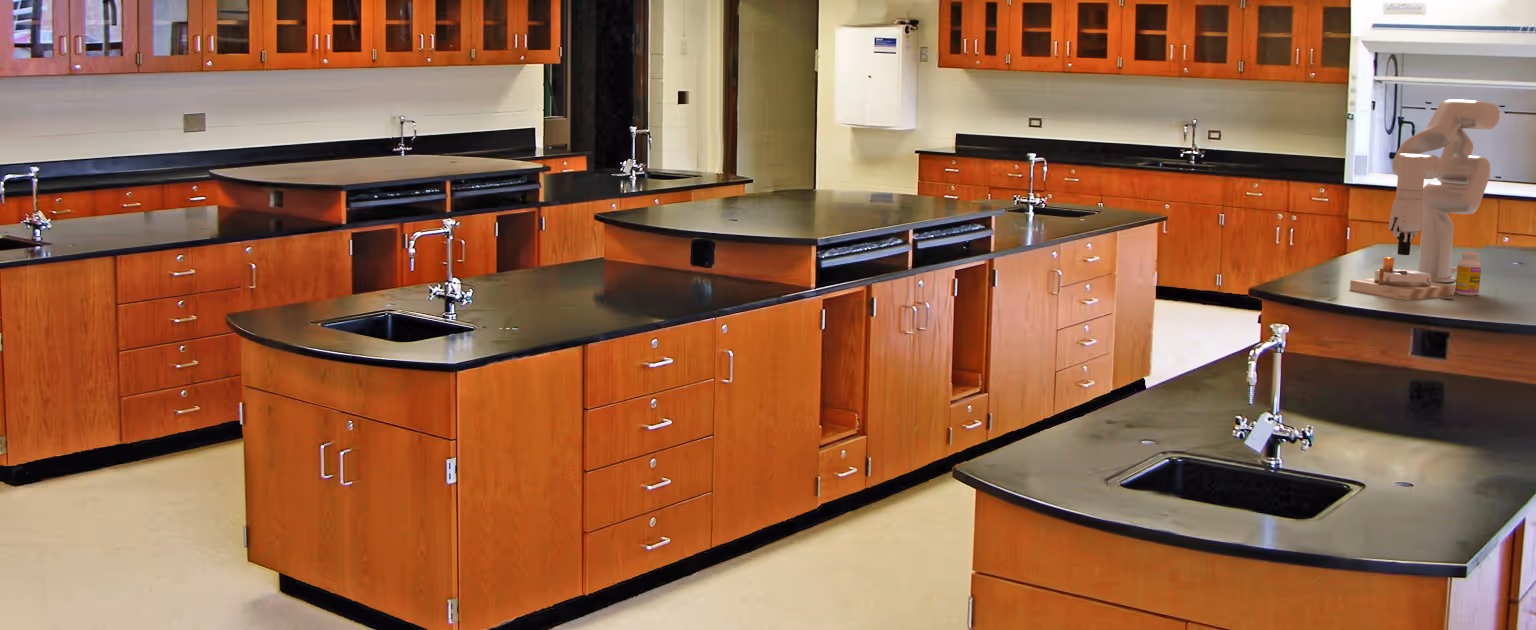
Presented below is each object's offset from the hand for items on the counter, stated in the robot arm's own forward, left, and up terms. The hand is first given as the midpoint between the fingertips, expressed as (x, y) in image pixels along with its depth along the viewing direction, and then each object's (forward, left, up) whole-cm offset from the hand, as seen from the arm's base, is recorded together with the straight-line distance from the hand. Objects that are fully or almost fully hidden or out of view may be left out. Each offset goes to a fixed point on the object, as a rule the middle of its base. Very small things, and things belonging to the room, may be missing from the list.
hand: (1403, 254), depth 481 cm
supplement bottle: (-10, +16, -11) cm, 22 cm away
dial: (+6, +5, -8) cm, 11 cm away
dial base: (+6, +5, -11) cm, 13 cm away
